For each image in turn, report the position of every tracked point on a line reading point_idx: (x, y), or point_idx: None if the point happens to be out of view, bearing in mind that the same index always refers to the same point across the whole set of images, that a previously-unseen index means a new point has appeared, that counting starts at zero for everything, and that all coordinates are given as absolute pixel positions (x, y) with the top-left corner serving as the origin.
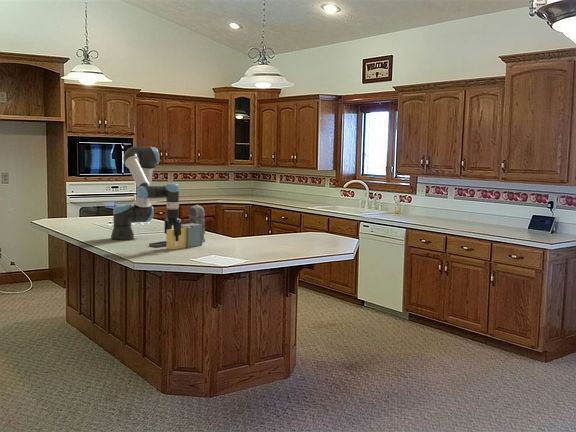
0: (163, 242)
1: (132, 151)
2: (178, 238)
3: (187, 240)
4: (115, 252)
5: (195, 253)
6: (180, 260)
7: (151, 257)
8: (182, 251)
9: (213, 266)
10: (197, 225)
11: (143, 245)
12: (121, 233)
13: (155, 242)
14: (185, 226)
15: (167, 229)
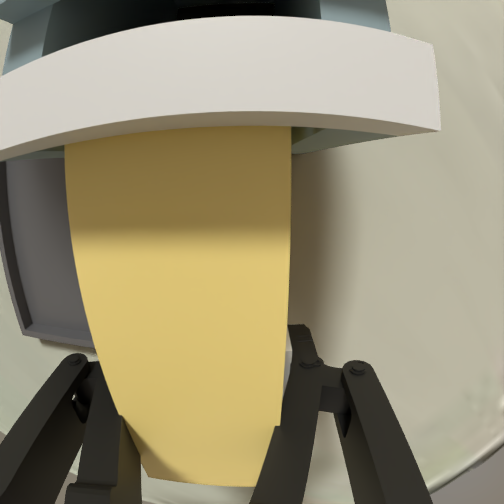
0: (3, 198)
1: None
2: (312, 342)
3: (297, 150)
4: (142, 495)
5: (488, 312)
6: (476, 437)
7: (351, 489)
8: (391, 329)
9: None
10: None
11: (4, 324)
12: None
13: (7, 279)
14: (258, 118)
15: (150, 470)
